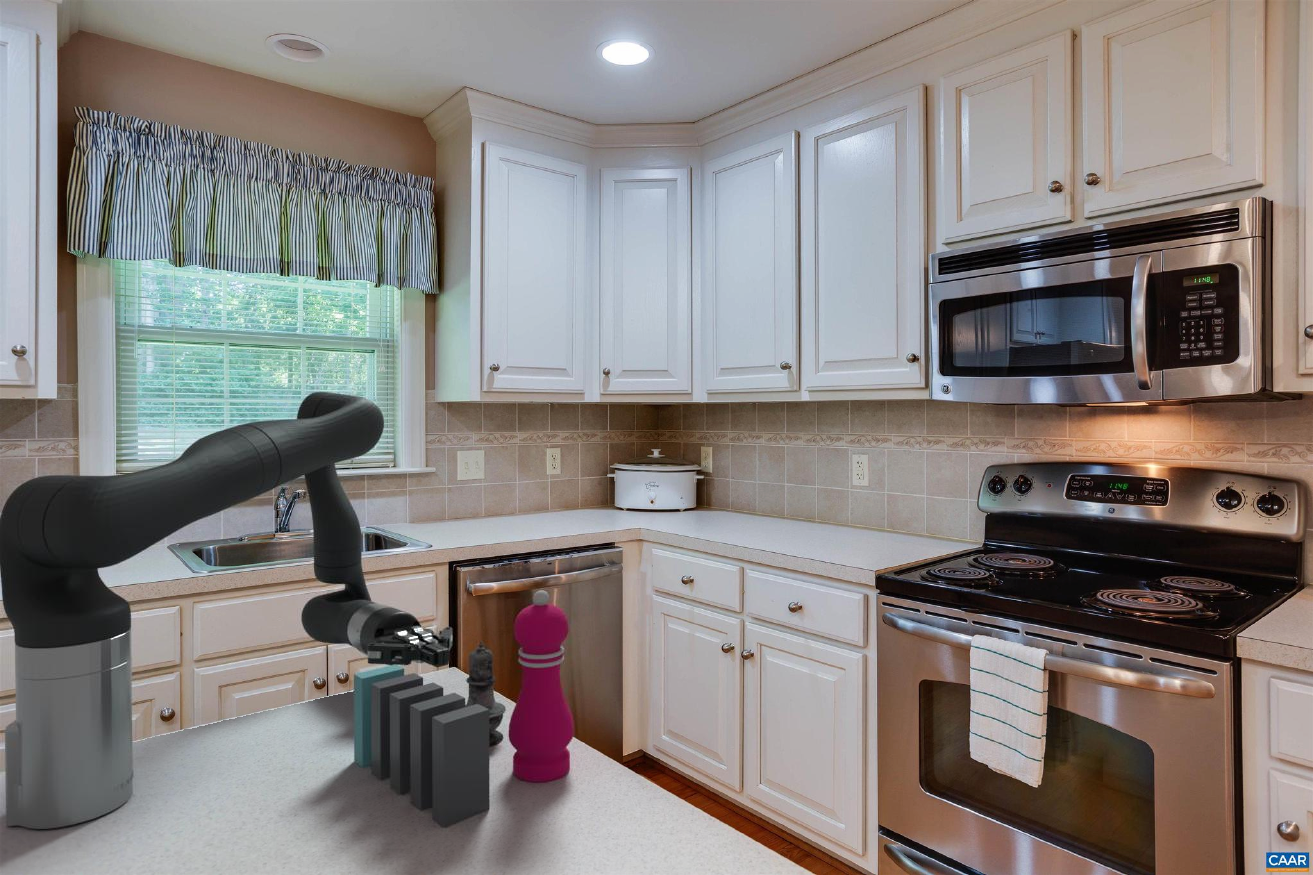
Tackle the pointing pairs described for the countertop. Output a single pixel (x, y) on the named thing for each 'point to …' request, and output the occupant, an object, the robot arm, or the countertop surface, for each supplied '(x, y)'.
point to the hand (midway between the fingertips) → (443, 658)
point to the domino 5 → (460, 764)
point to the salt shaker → (485, 690)
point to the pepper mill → (541, 695)
